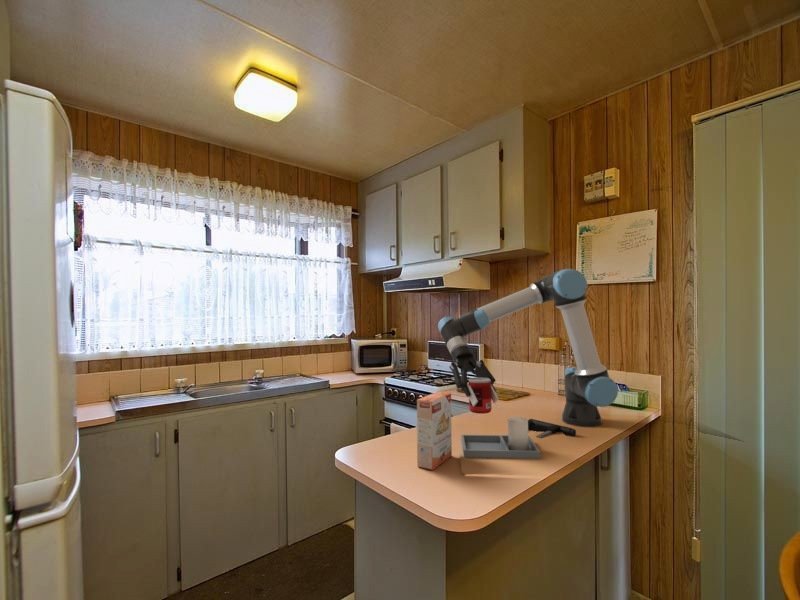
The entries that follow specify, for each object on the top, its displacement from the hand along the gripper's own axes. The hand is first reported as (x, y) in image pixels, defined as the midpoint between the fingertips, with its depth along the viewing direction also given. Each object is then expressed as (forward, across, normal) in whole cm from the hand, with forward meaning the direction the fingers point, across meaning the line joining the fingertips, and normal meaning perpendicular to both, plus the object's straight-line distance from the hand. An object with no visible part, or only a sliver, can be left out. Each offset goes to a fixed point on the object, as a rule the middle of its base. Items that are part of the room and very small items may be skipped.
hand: (486, 402), depth 130 cm
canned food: (0, 0, -5) cm, 5 cm away
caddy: (+13, -4, -11) cm, 17 cm away
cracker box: (+12, +20, -12) cm, 26 cm away
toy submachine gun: (+7, -31, -17) cm, 36 cm away
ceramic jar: (+15, -10, -8) cm, 19 cm away
